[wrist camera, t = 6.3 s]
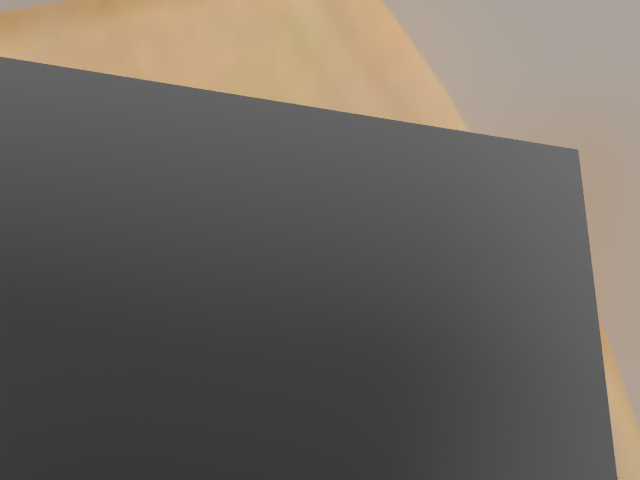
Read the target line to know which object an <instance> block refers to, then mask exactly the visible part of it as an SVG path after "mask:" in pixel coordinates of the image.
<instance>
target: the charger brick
mask: <svg viewBox="0 0 640 480" xmlns="http://www.w3.org/2000/svg"><path fill="white" fill-rule="evenodd" d="M0 480H617V473H616V465H615V456H614V448H613V439H612V431H611V422H610V414H609V406H608V397H607V389H606V380H605V372H604V364H603V355H602V347H601V338H600V330H599V321H598V313H597V305H596V296H595V288H594V279H593V271H592V263H591V254H590V246H589V237H588V229H587V221H586V212H585V204H584V195H583V187H582V179H581V171H580V161H579V154H578V150H576V149H570V148H563V147H557V146H550V145H545V144H539V143H532V142H526V141H519V140H513V139H507V138H501V137H494V136H489V135H483V134H476V133H470V132H464V131H458V130H452V129H445V128H439V127H433V126H427V125H421V124H414V123H408V122H402V121H396V120H389V119H383V118H377V117H371V116H365V115H358V114H352V113H346V112H340V111H334V110H327V109H321V108H315V107H309V106H302V105H296V104H290V103H284V102H278V101H271V100H265V99H259V98H253V97H247V96H240V95H234V94H228V93H222V92H216V91H209V90H203V89H197V88H191V87H184V86H178V85H172V84H166V83H160V82H153V81H147V80H141V79H135V78H129V77H122V76H116V75H110V74H104V73H97V72H91V71H85V70H79V69H73V68H66V67H60V66H54V65H48V64H42V63H35V62H29V61H23V60H17V59H10V58H4V57H0Z"/></svg>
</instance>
